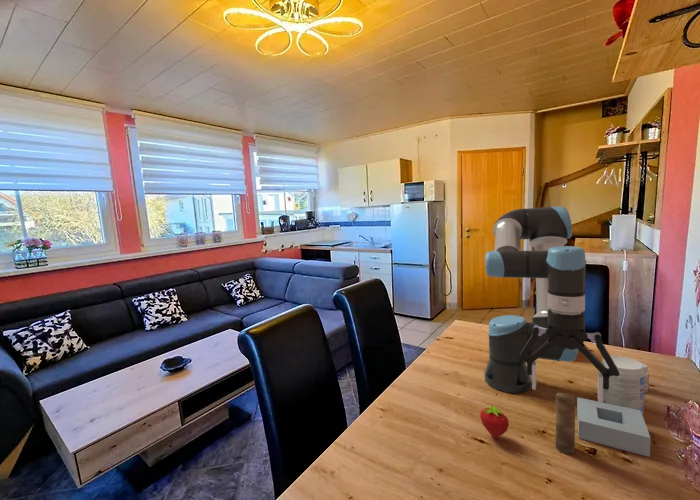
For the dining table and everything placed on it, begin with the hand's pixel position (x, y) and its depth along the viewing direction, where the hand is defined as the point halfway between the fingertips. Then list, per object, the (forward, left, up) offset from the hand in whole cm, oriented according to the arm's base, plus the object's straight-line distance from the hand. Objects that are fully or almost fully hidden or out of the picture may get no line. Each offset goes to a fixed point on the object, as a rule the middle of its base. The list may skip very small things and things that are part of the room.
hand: (565, 393), depth 80 cm
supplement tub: (+14, +26, -15) cm, 34 cm away
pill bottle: (+20, +41, -15) cm, 48 cm away
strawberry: (-16, -4, -15) cm, 22 cm away
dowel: (0, 0, -15) cm, 15 cm away
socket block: (+10, +12, -15) cm, 22 cm away
